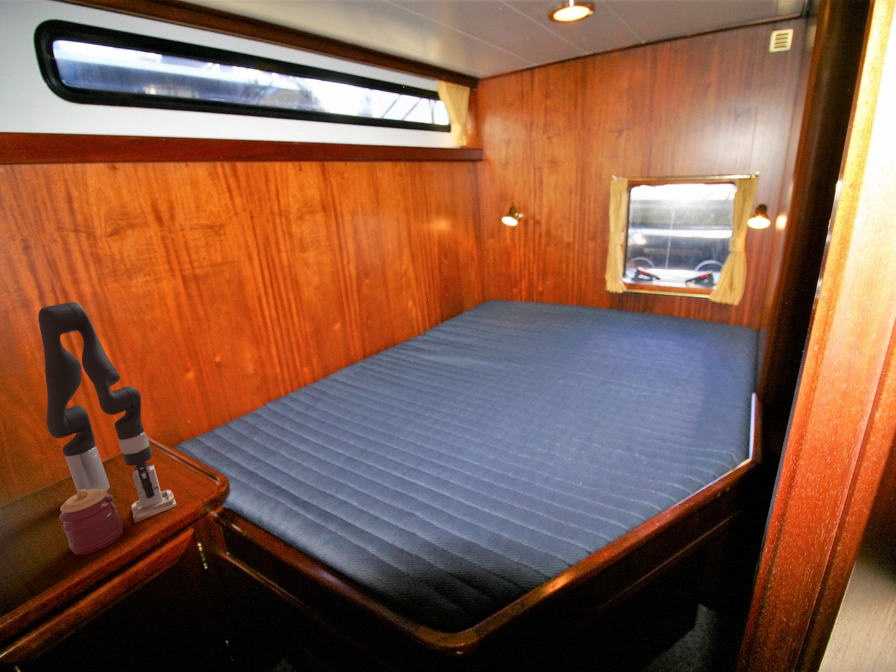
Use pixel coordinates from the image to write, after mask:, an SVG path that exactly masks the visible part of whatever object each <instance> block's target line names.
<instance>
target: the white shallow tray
mask: <svg viewBox="0 0 896 672" xmlns="http://www.w3.org/2000/svg"><path fill="white" fill-rule="evenodd" d="M161 494H162V502H160V503H157V504H155V505H152V506H149V507H146V508H143V509H142V507H141V503H140V500H139V499H138V500H137V501H134V502H133V504H131V512H132V517H133V522H134V523H135V524H136V523H138V522H140V521H144V520H146V519H147V518H150V517H153V516H155V515H157V514H160V513H163V512H165V511H168V510H170V509H173V508H174V507H177V506H178V504H177V502H176V499H175V495H174V494H173V492H172V491H171V489H165V490H163V491H162V490H161Z"/></svg>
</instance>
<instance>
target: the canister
mask: <svg viewBox="0 0 896 672" xmlns="http://www.w3.org/2000/svg"><path fill="white" fill-rule="evenodd" d="M108 492H109V491H108V490H105V489H89V490H86V489H80V490H78V491H77V490H76V494H74V495H72V496H70V497H69V498H68V499H66V500H65V502H64V503H63V504H62V505H61V506H60V508H59V510H60V512H61V513H60V515H59V517H58V519H59V521H61V522H62V523H63V525H62V530H63V531H64V533H65V535H66V538H67V541H68V544H69V545H68V546H69V548H70V550H71V552H72V553H73V554H74V555H77V556H82V555H88V554H89V555H90V554H93V553H95V552H98V551H100V550H103V549H105V548H107V547H108V546H110V545H112V544H113V543H115V542H116V541H118V539H119V538H120V537H121V536H122V534H123V533H124V529H123V526H124V525H123V523H122V521H121V520H120V519H121V518H120V516H119V514H118V510H117V506H116V504H114V503H113V501H114V496H113V495H112V494H109V493H108Z"/></svg>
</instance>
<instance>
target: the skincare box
mask: <svg viewBox="0 0 896 672" xmlns="http://www.w3.org/2000/svg"><path fill="white" fill-rule="evenodd" d="M149 468H150V470H149V471H150V474H151V479H150V480H151V483H152V488H153V491H154V496H153V497H151V498H147V497H146V494H145V490H144V489H143V488H142V487H143V486H142V483H141V482H139V479H138V476H137V474H136V473H135V470H133V471H132V479H133V482H134V485H135V489H136V492H137V496H138V498H139V499H138V501H139V500H140V503H141V507H142V509H143V508H146V507H149V506H152V505H155V504H157V503H160V502H162V494H161V492H162V490H161V487H160V483H159V481H158V476H157V472H156V468H155V465H154V464H152V465H149ZM148 483H149V482H147V483H144V485H145V484H148Z"/></svg>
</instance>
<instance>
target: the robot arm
mask: <svg viewBox="0 0 896 672" xmlns="http://www.w3.org/2000/svg"><path fill="white" fill-rule="evenodd" d="M38 325H39V330H40V335H41V340H42V345H43V354H44V375H45V384H46V392H47V393H46V394H47V403H46V404H47V405H46V407H47V408H46V409H47V410H46V426H47V430H48V432H49V435H51V437H53V438H55V439H63V438H66V437H70V436H71V435H74V434H75V435H74V436H73V437H72V439H70V441H68V442H67V443H66V444H64V445H63V447H62V453H63V455H64V456H63V457H64V458H65V461H66V464H67V466H68V469H69V473H70V475H71V477H72V478H71V479H72V480H73V483H74V486H75V490H76V492H77V491H78V490H80V489H86V490H89V489H105V490H107V491H108V490H109V489H110V487H111V486H110V483H109V479H108V476H107V473H106V470H105V467H104V465H103V462H102V459H101V456H100V452H99V450H98V448H97V447H98V446H97V444H96V439H95V434H94V432H93V431H94V430H93V427H92V424H91V420H90V416H89V414H88V411H87V410H86V408H84V406H82V405H80V404H79V405H78V404H77V405H73V406H70V407H67V406H68V404H69V402H70V400H71V399H72V398H73V397H74V396H75V394H76V392H77V391H78V389H79V388H80V385H81V383H82V379H83V378H82V377H83V374H82V373H83V372H82V369H83V370H84V372H85V374H86V375H87V377H88V379H89V380H90V381H91V383H92V384H93V386H94V389H95V392H96V395H97V398H98V402H99V403H98V404H99V406H100V409H101V411H103V412H104V413H105V414H107V415H109V416H115V415H118V414H120V413H123V412H124V414H123V415H122V416H121V417H120V418H119V419H117V420H116V421H115V422H114V428H115V432H116V435H117V437H118V443H119V448H120V451H121V455H122V457H123V460H124V463H125V465H126V466H128V467H133V466H134V467H133V469H134V471H135V473H136V474H137V476H138V479H139V482H141V483H142V486H143V487H142V488H143V489H144V490H145V494H146V497H147V498H151V497H153V496H154V491H153V488H152V483H151V480H150V479H151V474H150V471H149V470H150V468H149V466H150V465H149V462H148V461H149V460H151V459H152V458H153V451H152V448H151V445H150V441H149V439H148V435H147V434H146V432H145V429H144V426H143V422H142V413H141V412H142V396H141V394H140V393H141V392H140V391H139V389H137V388H136V387H134V386H132V385H127V386H124V387H120V388H118V389H115V390H113V391H112V390H111V389H110V388H111V387H112V386H114V385H116V384H117V383H118V382H119V381H120V380H121V376H120V373H119V372H118V371H117V368H116V367H115V366H114V365H113V363H112V362H111V360H110V359H109V357H108V356H107V354H106V352H105V350H104V348H103V346H102V343H101V341H100V338H99V336H98V334H97V333H96V330H95V328H94V325H93V323H92V322H91V319H90V316H89V315H88V313H87V312H86V310H85V308H84V307H83V306H82V305H81V304H80V303H79V302H75V301H72V302H71V301H70V302H63V303H57V304H52V305H48V306H44V307H42V308H40V310H39V311H38ZM73 332H78V333H79V334H80V335H81V337H82V341H83V343H82V344H83V348H82V354H81V362H80V361H79V359H78V358H77V357H76V356H75V355H74V354H73V353H71V352H70V351H69V350H67V348H65V347H64V345H63V344H62V342H61V341H62V340H61V335H64V334H69V333H73ZM147 482H149V483H148V484H145V485H144V483H147Z"/></svg>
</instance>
